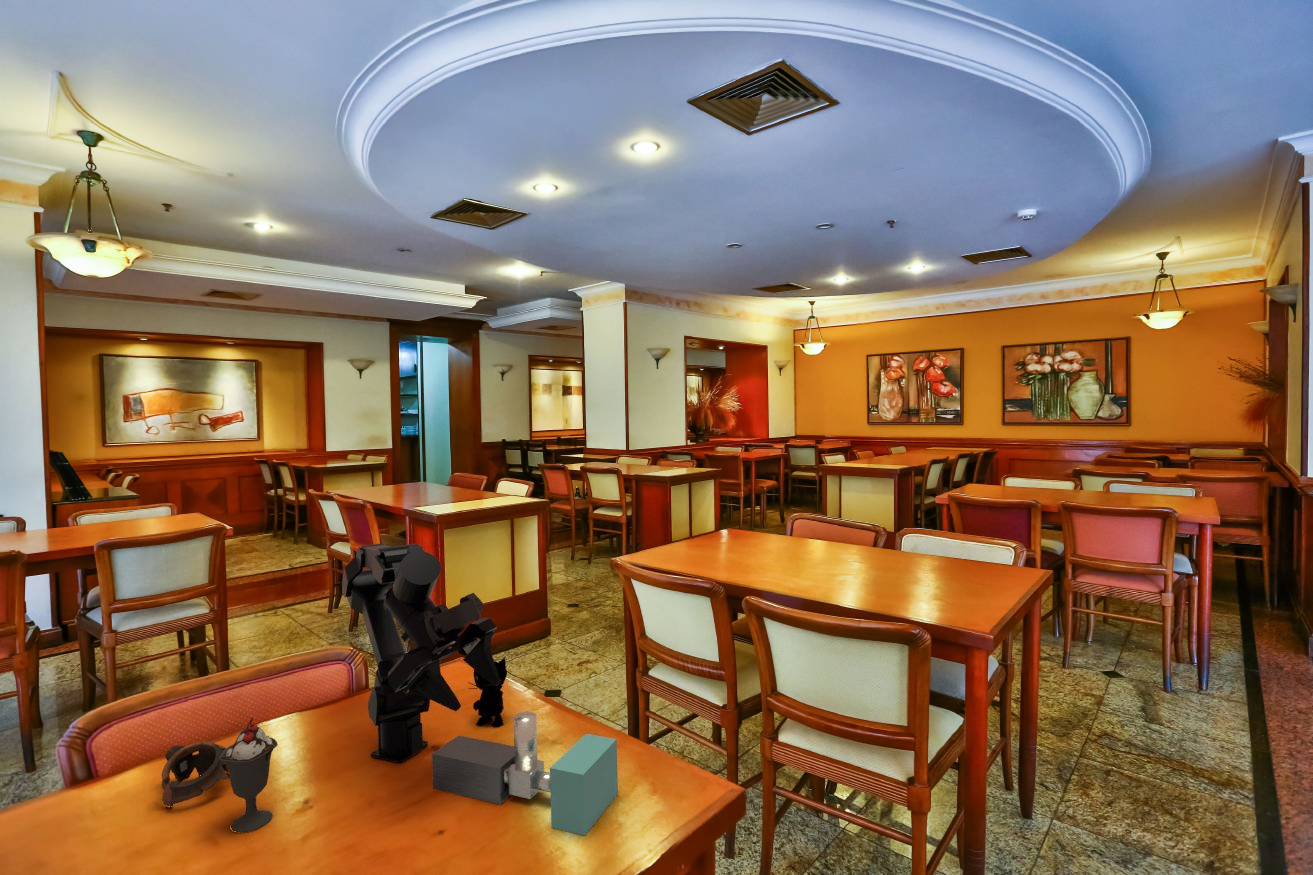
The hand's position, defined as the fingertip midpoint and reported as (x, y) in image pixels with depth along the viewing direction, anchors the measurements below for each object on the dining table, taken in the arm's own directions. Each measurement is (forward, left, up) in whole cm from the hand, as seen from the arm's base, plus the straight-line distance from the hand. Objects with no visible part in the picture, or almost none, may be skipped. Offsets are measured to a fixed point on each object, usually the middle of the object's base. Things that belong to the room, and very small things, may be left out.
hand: (479, 695), depth 95 cm
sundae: (-25, -18, -14) cm, 33 cm away
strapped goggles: (-40, -15, -14) cm, 45 cm away
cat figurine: (-12, +18, -14) cm, 25 cm away
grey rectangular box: (-1, 0, -13) cm, 14 cm away
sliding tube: (+3, 0, -12) cm, 13 cm away
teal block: (+17, 0, -13) cm, 22 cm away
